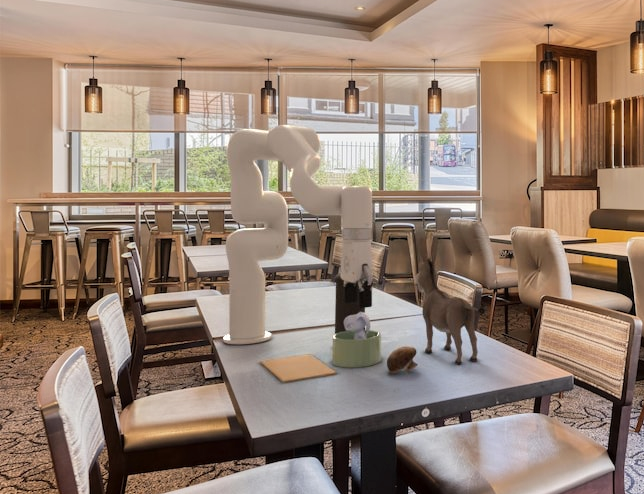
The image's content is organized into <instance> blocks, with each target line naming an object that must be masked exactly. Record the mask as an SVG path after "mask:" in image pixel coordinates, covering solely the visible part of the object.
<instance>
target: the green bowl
mask: <svg viewBox="0 0 644 494" xmlns="http://www.w3.org/2000/svg"><path fill="white" fill-rule="evenodd" d="M363 331H364V333H365V334H366V329H365V330H363ZM366 336H367V337H366V339H357V340H354V337H355V333H351V332H349V331H344V332H339V333H336V334H335V333H334V334H333V335H332V365H334V366H336V367H340V368H364V367H370V366H373V365H376V364H378V363H380V362H381V360H382V333H381V332H380V331H377V330H371V329H370V330H369V333H368V334H366Z"/></svg>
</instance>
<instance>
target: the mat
mask: <svg viewBox="0 0 644 494" xmlns="http://www.w3.org/2000/svg"><path fill="white" fill-rule="evenodd" d="M260 364H261V365H262V366H264V367H265V368H266V369H267V370H268V371H269V372H271V374H273V375H274V376H275V377H276V379H278V380H280V381H281V382H282V383H283V384H284V383H285V384H286V383H289V382H296V381H301V380H308V379H314V378H320V377H326V376H332V375H337V371H336V370H334V369H333V368H331V367H329V366H328V365H327V364H325V363H323V362H322V361H321V360H319V359H317V358H316V357H314V356H313V355H311V354H310V353H309V354H308V353H307V354H302V355H295V356H288V357H287V356H286V357H282V358H274V359H268V360H267V359H266V360H261V361H260Z"/></svg>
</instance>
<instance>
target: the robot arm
mask: <svg viewBox="0 0 644 494" xmlns="http://www.w3.org/2000/svg"><path fill="white" fill-rule="evenodd" d="M320 147H321V139H320V137H319V135H318V133H317V132H316V131H315V130H314V129H312V128H310V127H307V126H300V125H292V124H279V125H275V126H273V127H272V128H271V129H270V130H263V129H255V128H254V129H252V128H245V129H244V128H243V129H240V130H237V131H235V132H234V133H232V135H230V136H229V139H228V141H227V144H226V150H225V151H226V152H225V153H226V162H227V166H228V170H229V175H230V211H231V217H232V219H233V221H234V222H236V223H237V224H243V225H256V224H257V225H258V224H262V225H263V228H262V227H261V228H258V227H256V228H255V227H254V228H241V229H237V230H235V231H232V232H231V233H230V234H229V235H228V236H227V237H226V240H225V252H226V257H227V258H226V259H227V263H228V273H229V274H228V276H229V277H228V279H229V281H228V282H229V284H228V285H229V291H228V292H229V295H228V296H229V297H228V299H229V303H228V304H229V309H228V311H229V312H228V315H229V316H228V317H229V320H228V321H229V322H228V324H229V325H228V326H229V327H228V329H229V330H228V331H229V332H228V333H229V334H227V335H225V336H223V343H225V344H228V345H250V344H257V343H263V342H267V341H269V340H271V338H272V333H271V332H268V331H266V275H265V271H264V270H263V268H262V267H261V265H260V264H259V262H265V261H275V260H278V259H281V258H283V257H284V256H285V255H286V253H287V251H288V248H289V247H288V246H289V213H288V212H289V211H288V205H287V204H288V203H287V201H286V199H285V197H284V196H283V195H282V194H281V193H279V192H277V191H273V190H264V188H263V187H264V186H263V180H264V179H263V174H262V171H261V170H260V167H259V166H258V165H257V163H256V162H255V160H256V161H258V160H259V161H270V162H271V161H272V162H281V163H282V164H283V166H284V167H285V168H286V169H287V171H288V172H289V173H290V176H289V186H290V192H291V194H292V197H293V198H294V199H295V201H296V202H297V203H298V204H299V206H300V207H301V208H302V209H303V210H304V211H305V212H307V213H308V214H309V215H312V216H316V217H317V216H321V217H322V216H341V217H340V218H341V223H340V225H341V226H340V227H341V243H342V245H341V254H340V255H341V256H340V274H341V279H342V280H344V284H343V285H344V302H345V303H350V302H356V301H357V286H355V284H356V281H358V285H359V288H360V291H359V308H365V309H366V308H372V307H373V284H374V276H375V275H374V273H373V254H372V253H373V252H372V243H371V242H373V238H374V237H373V232H374V231H373V190H372V188H371V187H370V186H367V185H347V186H346V185H325V184H323V185H321V184H319V185H318V184H317V183H316V182H315V181H314V180H313V179H312V176H314V175H315V174H316V173H317V172H318V170H320V168H321V164H322V163H321V162H322V161H321V157H320V155H319V154H318V152H319V151H320ZM362 283H364V284H362Z"/></svg>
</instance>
